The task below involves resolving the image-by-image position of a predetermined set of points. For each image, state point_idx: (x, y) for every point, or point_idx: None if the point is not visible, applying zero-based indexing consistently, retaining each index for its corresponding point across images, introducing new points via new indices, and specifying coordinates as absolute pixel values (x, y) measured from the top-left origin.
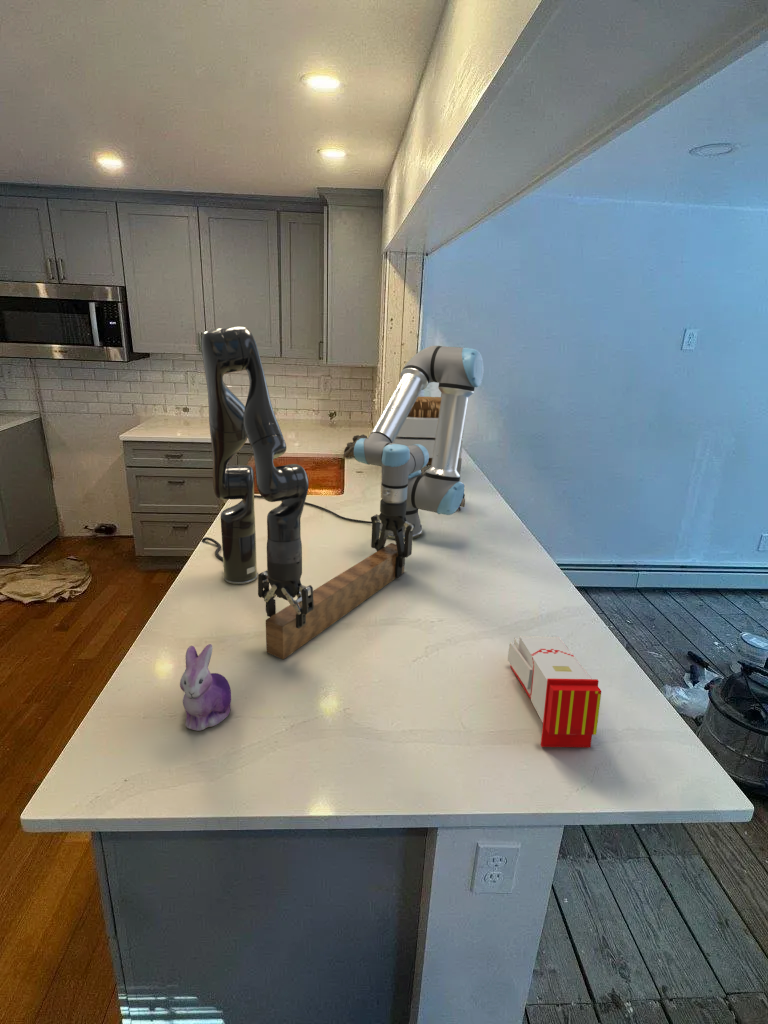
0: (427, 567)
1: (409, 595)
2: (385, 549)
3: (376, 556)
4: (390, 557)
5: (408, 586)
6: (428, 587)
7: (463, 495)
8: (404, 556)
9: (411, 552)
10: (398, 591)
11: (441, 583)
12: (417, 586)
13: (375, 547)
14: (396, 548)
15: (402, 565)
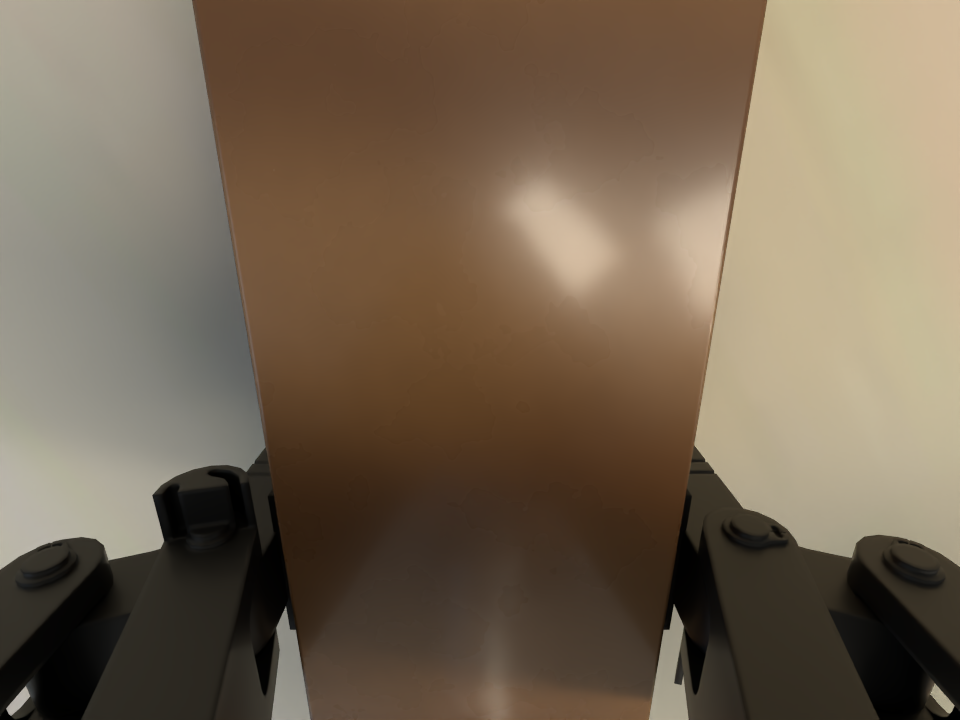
0: (301, 679)
1: (27, 103)
2: (576, 575)
3: (562, 63)
4: (255, 313)
5: (184, 290)
6: (33, 387)
7: None
8: (101, 548)
9: (34, 715)
10: (182, 114)
11: (15, 516)
12: (120, 344)
13: (833, 574)
14: (410, 715)
15: (259, 456)
